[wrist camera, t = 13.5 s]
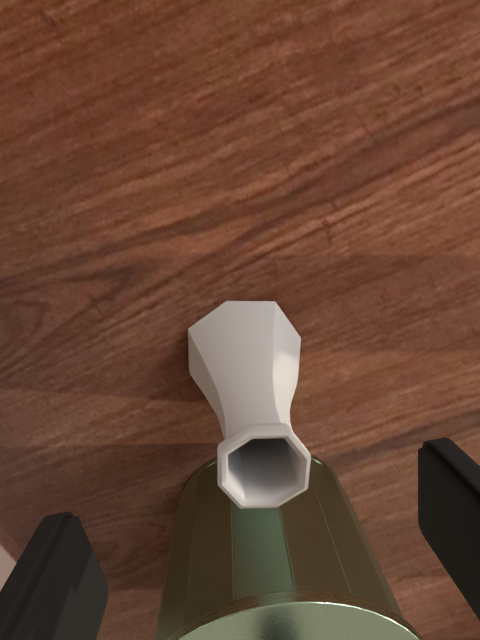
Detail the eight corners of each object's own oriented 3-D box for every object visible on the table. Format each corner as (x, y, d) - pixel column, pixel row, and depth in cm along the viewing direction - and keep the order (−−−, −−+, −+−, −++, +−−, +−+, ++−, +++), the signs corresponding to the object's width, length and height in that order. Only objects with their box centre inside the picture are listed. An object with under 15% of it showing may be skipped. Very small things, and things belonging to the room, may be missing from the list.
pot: (196, 589, 26) (181, 790, 17) (157, 461, 22) (111, 628, 13) (351, 561, 26) (421, 747, 16) (338, 429, 22) (419, 573, 13)
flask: (208, 417, 21) (196, 577, 12) (168, 318, 19) (114, 412, 10) (313, 385, 21) (389, 522, 11) (285, 281, 19) (349, 340, 9)
